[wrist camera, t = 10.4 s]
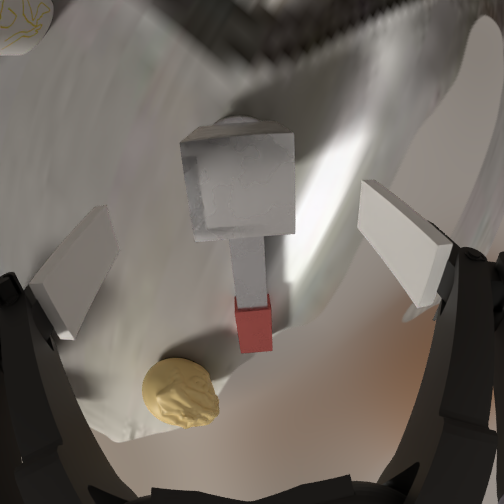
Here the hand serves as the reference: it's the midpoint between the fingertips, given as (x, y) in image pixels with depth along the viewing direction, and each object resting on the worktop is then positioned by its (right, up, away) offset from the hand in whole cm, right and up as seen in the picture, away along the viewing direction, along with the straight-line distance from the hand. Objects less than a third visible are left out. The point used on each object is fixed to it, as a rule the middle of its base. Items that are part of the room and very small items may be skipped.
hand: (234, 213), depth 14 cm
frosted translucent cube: (0, +6, +11) cm, 13 cm away
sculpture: (-11, -22, +31) cm, 39 cm away
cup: (-25, +25, +2) cm, 36 cm away
